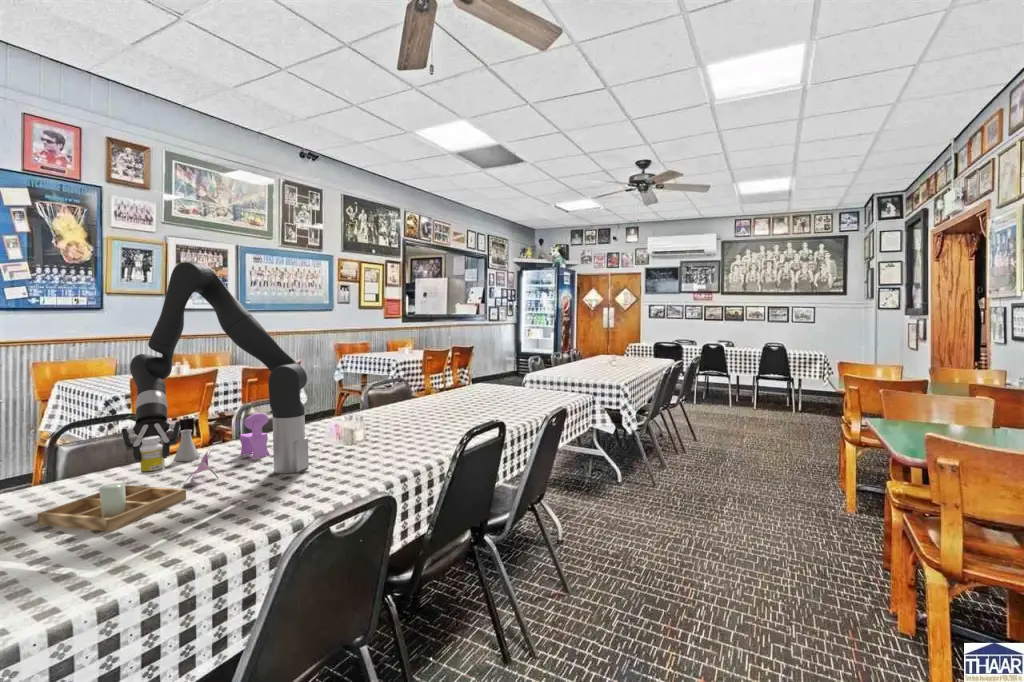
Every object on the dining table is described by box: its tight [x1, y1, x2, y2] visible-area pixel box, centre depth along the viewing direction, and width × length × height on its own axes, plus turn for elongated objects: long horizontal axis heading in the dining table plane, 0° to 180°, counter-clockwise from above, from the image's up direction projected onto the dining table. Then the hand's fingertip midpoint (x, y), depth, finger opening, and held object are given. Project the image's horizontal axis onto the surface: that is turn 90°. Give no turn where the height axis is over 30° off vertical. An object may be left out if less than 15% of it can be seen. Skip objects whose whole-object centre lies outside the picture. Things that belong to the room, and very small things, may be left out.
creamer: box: [99, 482, 126, 518], centre depth 115 cm, size 5×5×8 cm
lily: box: [184, 447, 219, 485], centre depth 147 cm, size 12×12×10 cm
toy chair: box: [239, 412, 271, 460], centre depth 173 cm, size 8×9×15 cm
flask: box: [173, 429, 201, 462], centre depth 168 cm, size 7×7×10 cm
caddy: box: [37, 484, 187, 532], centre depth 121 cm, size 20×20×3 cm
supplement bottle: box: [139, 436, 166, 476], centre depth 138 cm, size 5×5×10 cm
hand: (151, 458), depth 136 cm, fingers closed on supplement bottle, 5 cm apart
